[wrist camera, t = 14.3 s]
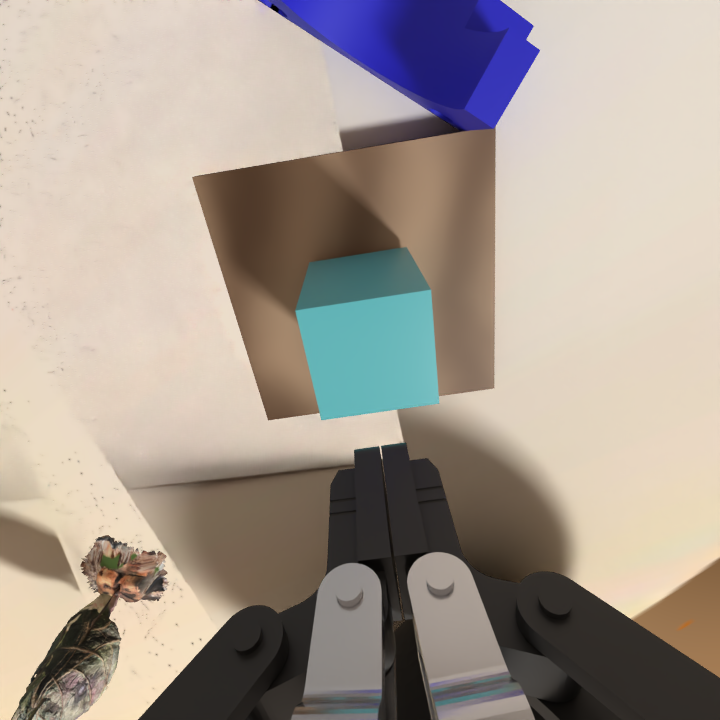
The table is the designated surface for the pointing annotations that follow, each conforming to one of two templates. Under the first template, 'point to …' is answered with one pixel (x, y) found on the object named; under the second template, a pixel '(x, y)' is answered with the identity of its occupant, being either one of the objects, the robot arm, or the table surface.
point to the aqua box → (368, 333)
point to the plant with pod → (92, 633)
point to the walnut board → (359, 248)
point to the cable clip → (428, 49)
